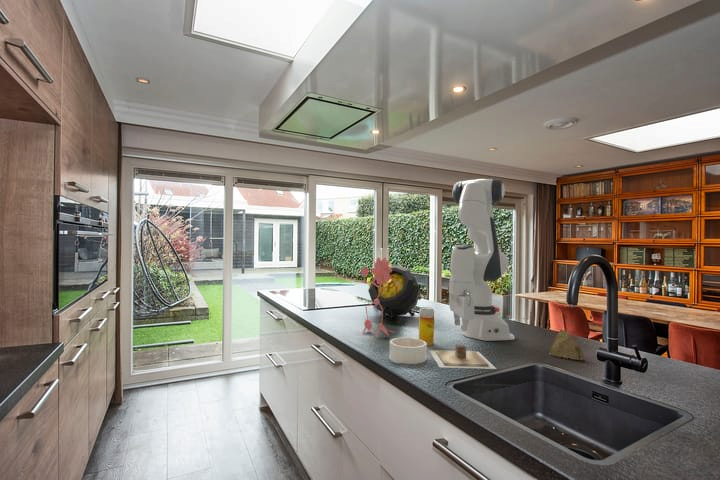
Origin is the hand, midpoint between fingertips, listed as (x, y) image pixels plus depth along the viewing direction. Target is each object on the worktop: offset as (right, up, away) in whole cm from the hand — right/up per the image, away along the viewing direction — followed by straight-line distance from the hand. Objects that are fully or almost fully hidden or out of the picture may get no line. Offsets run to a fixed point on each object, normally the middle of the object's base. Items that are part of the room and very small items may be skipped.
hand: (460, 327), depth 132 cm
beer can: (-9, -12, +20) cm, 25 cm away
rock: (+42, -13, +7) cm, 45 cm away
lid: (0, -11, 0) cm, 11 cm away
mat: (0, -12, 0) cm, 12 cm away
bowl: (-19, -11, +1) cm, 22 cm away
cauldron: (-16, -12, +77) cm, 79 cm away
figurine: (-27, -12, +37) cm, 47 cm away
